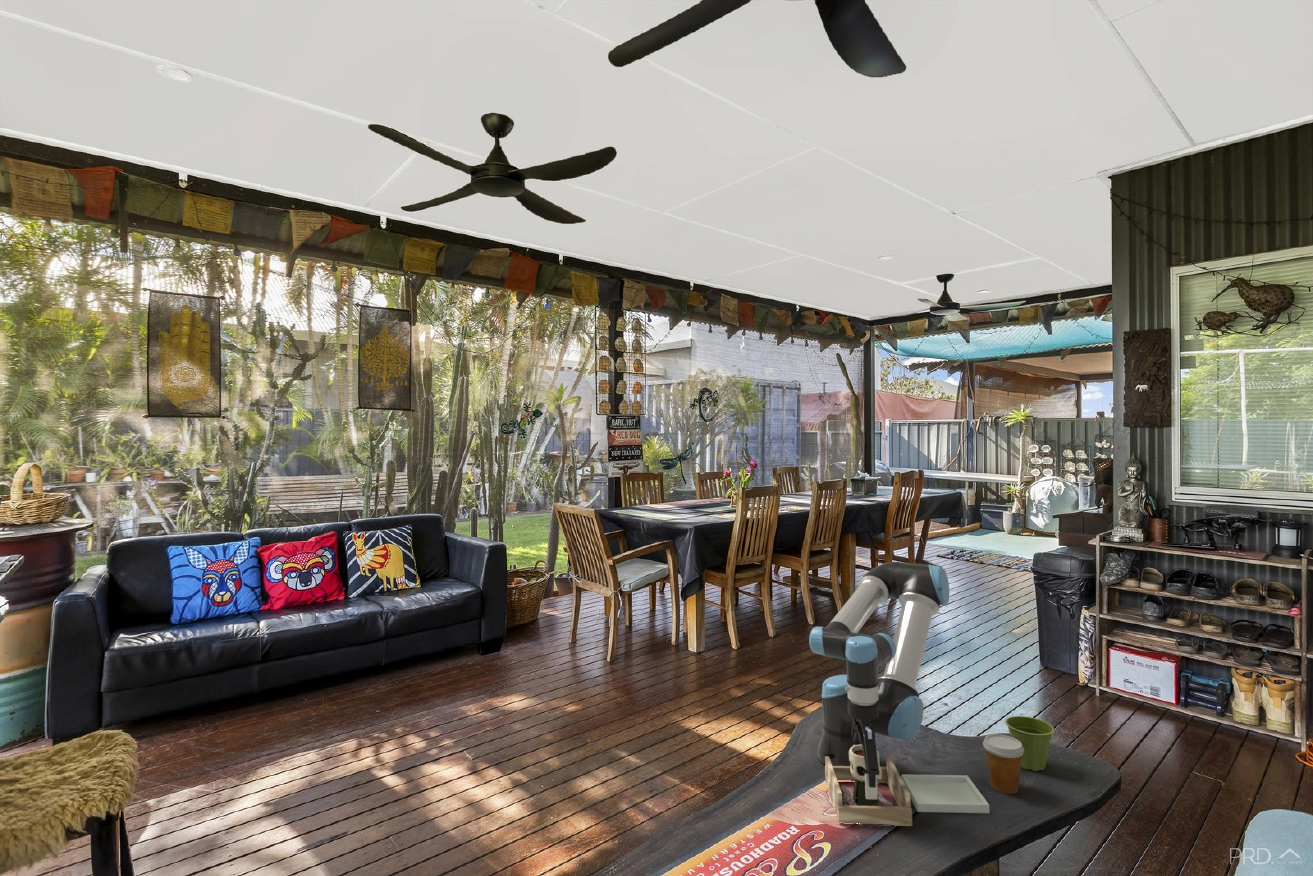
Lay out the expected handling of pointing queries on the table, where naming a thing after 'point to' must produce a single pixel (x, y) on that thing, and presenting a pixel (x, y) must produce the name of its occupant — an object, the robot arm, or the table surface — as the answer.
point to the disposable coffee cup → (1003, 762)
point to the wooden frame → (870, 814)
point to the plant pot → (1031, 740)
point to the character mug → (861, 775)
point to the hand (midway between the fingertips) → (865, 784)
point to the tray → (945, 794)
